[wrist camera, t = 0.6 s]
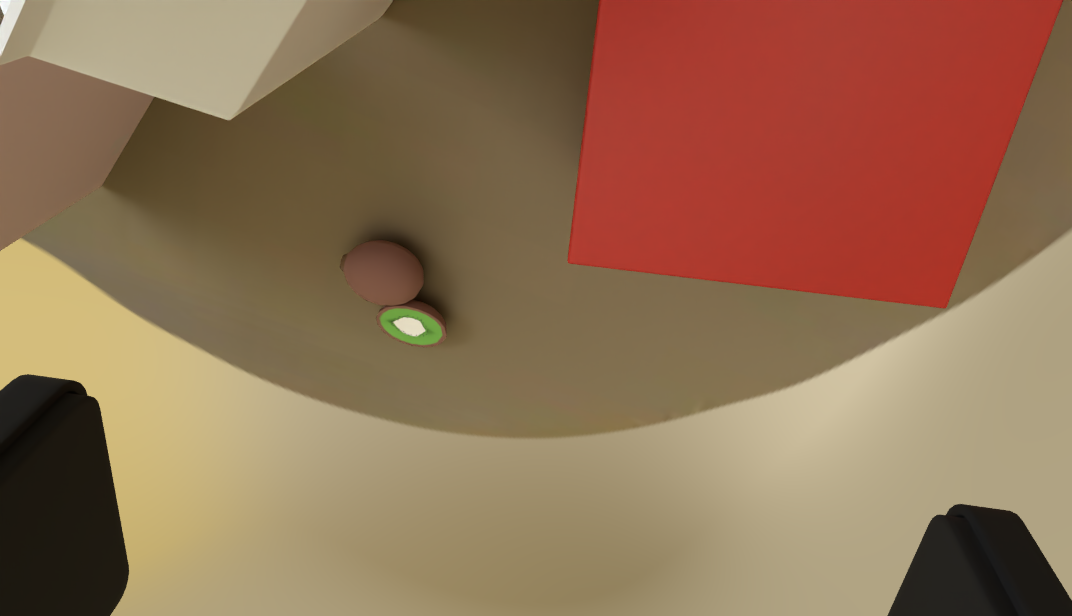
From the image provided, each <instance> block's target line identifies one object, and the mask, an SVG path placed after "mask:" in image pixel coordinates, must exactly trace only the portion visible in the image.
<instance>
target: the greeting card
mask: <svg viewBox="0 0 1072 616" xmlns="http://www.w3.org/2000/svg"><path fill="white" fill-rule="evenodd" d="M153 98H154V96H151V95H148V94H145V93H142V92H139V91H136V90H133V89H130V88H127V87H123V86H120V85H117V84H114V83H111V82H108V81H105V80H102V79H99V78H96V77H92V76H89V75H86V74H83V73H80V72H77V71H74V70H71V69H68V68H65V67H61V66H58V65H55V64H52V63H49V62H46V61H43V60H40V59H37V58H34V57H30V56H26V57H23V58H20V59H17V60H14V61H11V62H8V63H5V64H2V65H0V251H1V250H2V249H4V248H5V247H7V246H8V245H10V244H11V243H13V242H15V241H16V240H18V239H19V238H21V237H23V236H24V235H26V234H27V233H29V232H30V231H32V230H34V229H35V228H37V227H38V226H40V225H41V224H43V223H44V222H46V221H48V220H49V219H51V218H52V217H54V216H55V215H57V214H59V213H60V212H62V211H63V210H65V209H66V208H68V207H70V206H71V205H73V204H74V203H76V202H77V201H79V200H81V199H82V198H84V197H85V196H87V195H88V194H90V193H92V192H93V191H95V190H96V189H98V188H99V187H101V186H102V184H103V183H104V181H105V179H106V178H107V176H108V174H109V173H110V171H111V169H112V167H113V166H114V164H115V162H116V161H117V159H118V157H119V156H120V154H121V152H122V151H123V149H124V147H125V145H126V144H127V142H128V140H129V139H130V137H131V135H132V134H133V132H134V130H135V129H136V127H137V125H138V124H139V122H140V120H141V118H142V117H143V115H144V113H145V112H146V110H147V108H148V107H149V105H150V103H151V102H152V100H153Z"/></svg>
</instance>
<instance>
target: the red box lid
mask: <svg viewBox="0 0 1072 616" xmlns="http://www.w3.org/2000/svg"><path fill="white" fill-rule="evenodd" d="M1062 2H1063V0H599V7H598V15H597V24H596V32H595V40H594V48H593V56H592V64H591V73H590V81H589V89H588V97H587V105H586V114H585V122H584V130H583V138H582V146H581V154H580V163H579V171H578V179H577V187H576V195H575V203H574V212H573V220H572V228H571V236H570V244H569V252H568V263H570V264H578V265H587V266H595V267H603V268H612V269H620V270H628V271H637V272H645V273H653V274H662V275H670V276H679V277H687V278H695V279H704V280H712V281H720V282H729V283H737V284H745V285H754V286H762V287H770V288H779V289H787V290H796V291H804V292H812V293H821V294H829V295H837V296H846V297H854V298H862V299H871V300H879V301H887V302H896V303H904V304H913V305H921V306H929V307H938V308H946V307H947V305H948V302H949V299H950V297H951V294H952V291H953V289H954V286H955V284H956V281H957V278H958V276H959V273H960V270H961V268H962V265H963V263H964V260H965V257H966V255H967V252H968V249H969V247H970V244H971V241H972V239H973V236H974V234H975V231H976V228H977V226H978V223H979V220H980V218H981V215H982V213H983V210H984V207H985V205H986V202H987V199H988V197H989V194H990V192H991V189H992V186H993V184H994V181H995V178H996V176H997V173H998V170H999V168H1000V165H1001V163H1002V160H1003V157H1004V155H1005V152H1006V149H1007V147H1008V144H1009V142H1010V139H1011V136H1012V134H1013V131H1014V128H1015V126H1016V123H1017V121H1018V118H1019V115H1020V113H1021V110H1022V107H1023V105H1024V102H1025V99H1026V97H1027V94H1028V92H1029V89H1030V86H1031V84H1032V81H1033V78H1034V76H1035V73H1036V71H1037V68H1038V65H1039V63H1040V60H1041V57H1042V55H1043V52H1044V49H1045V47H1046V44H1047V42H1048V39H1049V36H1050V34H1051V31H1052V28H1053V26H1054V23H1055V21H1056V18H1057V15H1058V13H1059V10H1060V7H1061V5H1062Z"/></svg>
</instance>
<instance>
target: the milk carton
mask: <svg viewBox="0 0 1072 616" xmlns="http://www.w3.org/2000/svg"><path fill="white" fill-rule="evenodd" d="M392 1H393V0H0V7H1V9H2V11H3V13H4V15H5V16H4V18H3V21H2V23H1V25H0V65H2V64H5V63H8V62H11V61H14V60H17V59H20V58H23V57H26V56H30V57H34V58H37V59H40V60H43V61H46V62H49V63H52V64H55V65H58V66H61V67H65V68H68V69H71V70H74V71H77V72H80V73H83V74H86V75H89V76H92V77H96V78H99V79H102V80H105V81H108V82H111V83H114V84H117V85H120V86H123V87H127V88H130V89H133V90H136V91H139V92H142V93H145V94H148V95H151V96H154V97H157V98H161V99H164V100H167V101H170V102H173V103H176V104H179V105H182V106H185V107H188V108H192V109H195V110H198V111H201V112H204V113H207V114H210V115H213V116H216V117H220V118H223V119H226V120H231V119H232V118H234V117H235V116H237V115H238V114H240V113H241V112H243V111H244V110H245V109H247V108H248V107H250V106H251V105H253V104H254V103H256V102H257V101H259V100H260V99H262V98H263V97H265V96H266V95H268V94H269V93H271V92H272V91H273V90H275V89H276V88H278V87H279V86H281V85H282V84H284V83H285V82H287V81H288V80H290V79H291V78H293V77H294V76H296V75H297V74H298V73H300V72H301V71H303V70H304V69H306V68H307V67H309V66H310V65H312V64H313V63H315V62H316V61H318V60H319V59H321V58H322V57H324V56H325V55H326V54H328V53H329V52H331V51H332V50H334V49H335V48H337V47H338V46H340V45H341V44H343V43H344V42H346V41H347V40H349V39H350V38H352V37H353V36H354V35H356V34H357V33H359V32H360V31H362V30H363V29H365V28H366V27H368V26H369V25H371V24H372V23H374V22H375V21H377V20H378V19H379V18H380V17H382V15H383V14H384V13H385V12H386V10H387V9H388V7H389V6H390V4H391V3H392Z"/></svg>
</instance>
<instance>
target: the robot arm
mask: <svg viewBox="0 0 1072 616" xmlns="http://www.w3.org/2000/svg"><path fill="white" fill-rule="evenodd" d="M128 575H129V565H128V560H127V555H126V549H125V543H124V538H123V532H122V527H121V521H120V516H119V510H118V505H117V499H116V494H115V488H114V483H113V477H112V472H111V466H110V461H109V455H108V450H107V444H106V439H105V433H104V427H103V422H102V416H101V411H100V407H99V403H98V401H97V400H96V399H95V398H94V397H91V396H87V393H86V390H85V388H84V387H83V386H82V384H81V383H79V382H76V381H72V380H65V379H58V378H51V377H44V376H36V375H29V374H27V375H21V376H19V377H17V378H16V379H14V380H12V381H11V382H10V383H9V384H8V385H7V386H5V387H4V388H3V389H2V390H1V391H0V616H110V615H111V613H112V612H113V610H114V609H115V607H116V606H117V604H118V603H119V601H120V599H121V598H122V596H123V594H124V591H125V589H126V585H127V581H128ZM888 616H1072V600H1071V599H1070V598H1069V595H1068V594H1067V592H1066V591H1065V589H1064V587H1063V586H1062V584H1061V582H1060V581H1059V579H1058V578H1057V576H1056V574H1055V573H1054V571H1053V569H1052V568H1051V566H1050V565H1049V563H1048V561H1047V560H1046V558H1045V557H1044V555H1043V553H1042V552H1041V550H1040V548H1039V547H1038V545H1037V543H1036V542H1035V540H1034V539H1033V537H1032V536H1031V534H1030V532H1029V530H1028V529H1027V527H1026V526H1025V524H1024V522H1023V521H1022V520H1021V519H1020V517H1019V516H1018V515H1017V514H1015V513H1013V512H1011V511H1006V510H1000V509H992V508H985V507H978V506H971V505H964V504H958V505H954V506H953V507H952V508H950V509H949V511H948V512H947V514H946V515H936V516H935V517H934V518H932V520H931V522H930V523H929V525H928V527H927V530H926V532H925V534H924V536H923V538H922V541H921V543H920V545H919V547H918V549H917V552H916V554H915V556H914V558H913V561H912V563H911V565H910V567H909V569H908V572H907V574H906V576H905V578H904V580H903V583H902V585H901V587H900V589H899V592H898V594H897V596H896V598H895V601H894V603H893V605H892V607H891V609H890V612H889V614H888Z"/></svg>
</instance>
